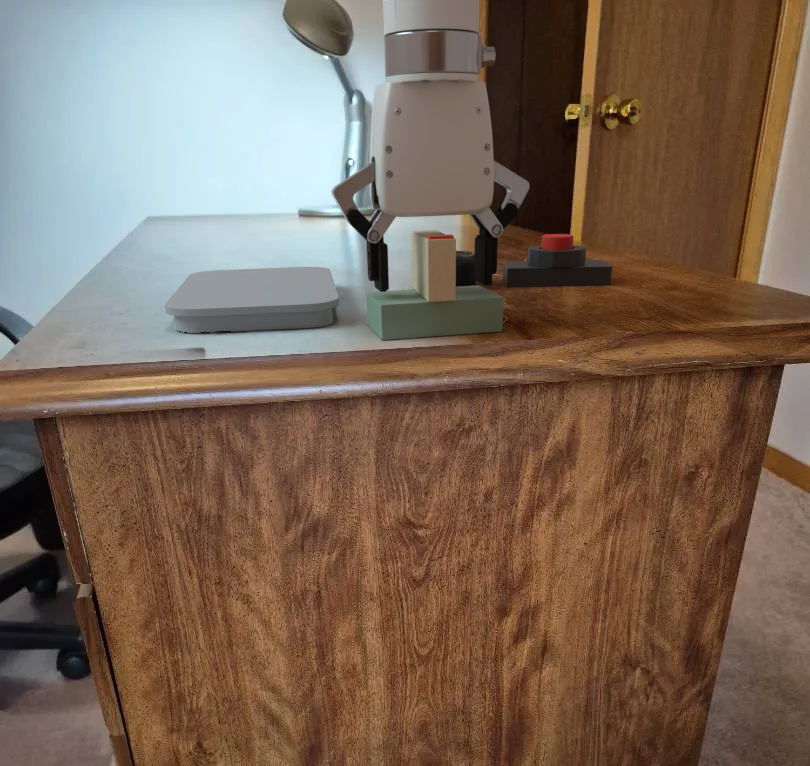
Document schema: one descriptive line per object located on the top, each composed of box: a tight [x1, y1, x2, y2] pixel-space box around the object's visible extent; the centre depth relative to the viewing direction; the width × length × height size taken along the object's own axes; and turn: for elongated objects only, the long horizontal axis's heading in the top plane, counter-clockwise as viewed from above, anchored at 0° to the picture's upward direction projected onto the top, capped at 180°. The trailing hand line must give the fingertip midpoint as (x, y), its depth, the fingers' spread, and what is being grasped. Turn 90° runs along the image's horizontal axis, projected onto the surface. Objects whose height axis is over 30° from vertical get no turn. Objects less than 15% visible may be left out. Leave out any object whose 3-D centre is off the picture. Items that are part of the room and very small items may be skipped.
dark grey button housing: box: [502, 244, 613, 288], centre depth 93 cm, size 12×6×4 cm, turn 88°
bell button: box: [541, 233, 575, 250], centre depth 92 cm, size 4×4×2 cm
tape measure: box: [456, 250, 477, 286], centre depth 93 cm, size 7×7×4 cm
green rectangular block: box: [365, 284, 504, 341], centre depth 72 cm, size 11×7×3 cm, turn 103°
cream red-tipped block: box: [410, 229, 457, 302], centre depth 70 cm, size 8×2×5 cm, turn 10°
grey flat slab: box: [164, 266, 340, 334], centre depth 84 cm, size 16×26×2 cm, turn 7°
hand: (432, 286), depth 71 cm, fingers open, 9 cm apart
